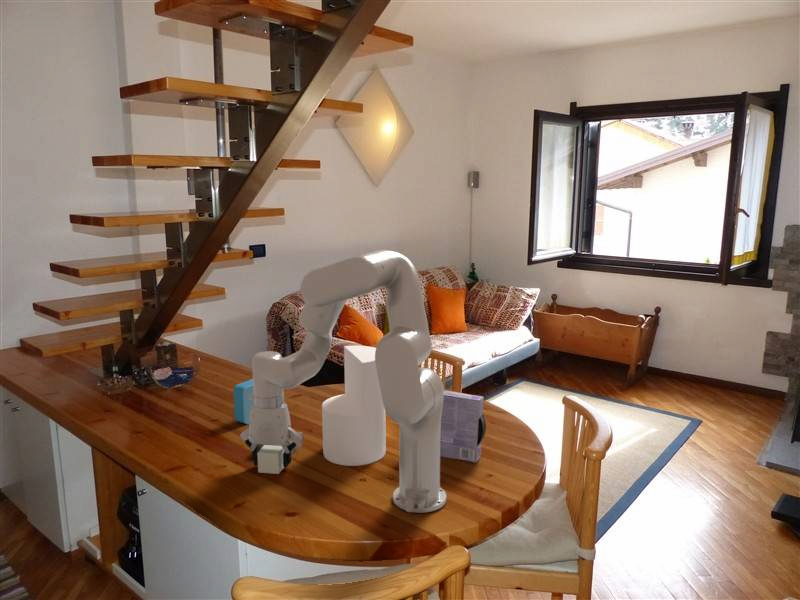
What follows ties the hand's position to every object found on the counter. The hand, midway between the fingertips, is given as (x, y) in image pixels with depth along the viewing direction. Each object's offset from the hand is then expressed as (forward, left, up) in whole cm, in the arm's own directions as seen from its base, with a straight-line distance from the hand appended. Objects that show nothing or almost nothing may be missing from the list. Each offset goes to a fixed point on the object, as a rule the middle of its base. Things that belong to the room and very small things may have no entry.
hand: (272, 464), depth 158 cm
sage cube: (0, 0, -1) cm, 1 cm away
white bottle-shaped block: (+13, -19, -1) cm, 23 cm away
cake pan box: (+15, -45, -1) cm, 47 cm away
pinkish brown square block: (+11, +2, -2) cm, 11 cm away
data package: (+32, +18, -1) cm, 37 cm away
